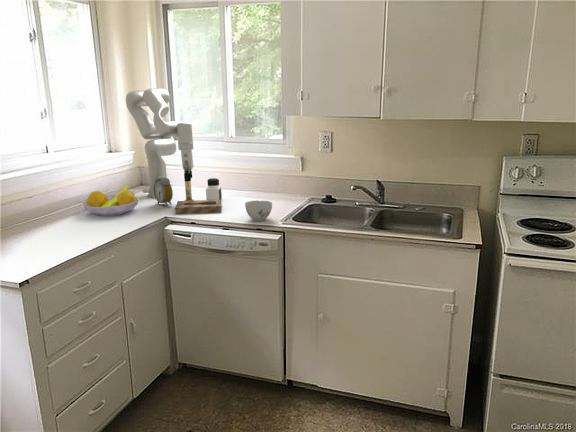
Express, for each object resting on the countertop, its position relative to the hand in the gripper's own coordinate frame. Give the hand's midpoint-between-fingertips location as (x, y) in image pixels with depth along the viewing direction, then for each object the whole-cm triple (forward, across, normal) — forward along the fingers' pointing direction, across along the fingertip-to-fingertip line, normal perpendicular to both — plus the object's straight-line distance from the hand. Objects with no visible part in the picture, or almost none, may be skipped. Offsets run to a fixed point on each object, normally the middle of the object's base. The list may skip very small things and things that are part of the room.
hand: (188, 179), depth 250 cm
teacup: (+14, -36, -33) cm, 51 cm away
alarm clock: (+13, -1, +13) cm, 18 cm away
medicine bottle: (+13, +5, -12) cm, 19 cm away
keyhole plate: (+13, -14, -5) cm, 20 cm away
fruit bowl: (+13, -11, +37) cm, 40 cm away
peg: (+13, +1, +1) cm, 13 cm away
